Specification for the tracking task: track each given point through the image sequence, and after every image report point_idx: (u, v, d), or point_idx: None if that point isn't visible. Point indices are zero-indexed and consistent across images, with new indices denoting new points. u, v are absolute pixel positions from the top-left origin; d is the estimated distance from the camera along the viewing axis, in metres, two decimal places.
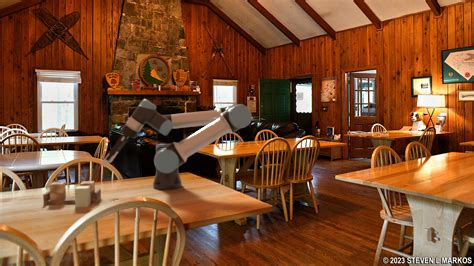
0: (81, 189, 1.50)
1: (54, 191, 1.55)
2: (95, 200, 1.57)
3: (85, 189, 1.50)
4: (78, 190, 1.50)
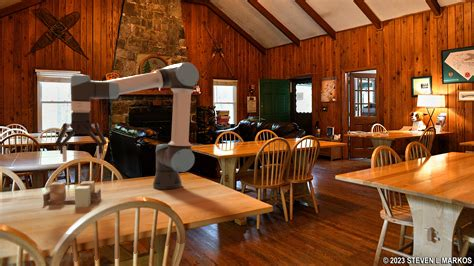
0: (81, 189, 1.50)
1: (54, 191, 1.55)
2: (95, 200, 1.57)
3: (85, 189, 1.50)
4: (78, 190, 1.50)
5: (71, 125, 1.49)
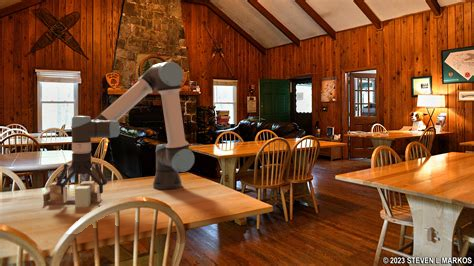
0: (81, 189, 1.50)
1: (54, 191, 1.55)
2: (95, 200, 1.57)
3: (85, 189, 1.50)
4: (78, 190, 1.50)
5: (72, 166, 1.50)
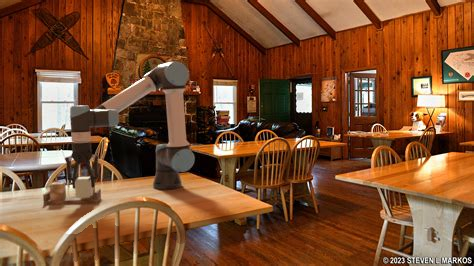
0: (82, 180, 1.50)
1: (54, 191, 1.55)
2: (95, 200, 1.57)
3: (86, 180, 1.50)
4: (79, 181, 1.50)
5: (72, 156, 1.50)
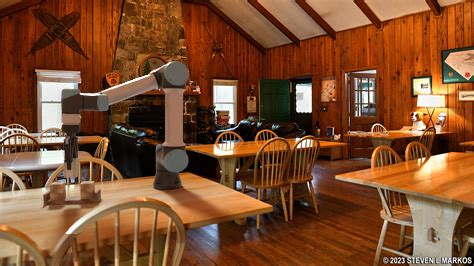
0: (77, 159, 1.58)
1: (54, 191, 1.55)
2: (95, 200, 1.57)
3: (78, 159, 1.60)
4: (76, 160, 1.57)
5: (71, 138, 1.54)
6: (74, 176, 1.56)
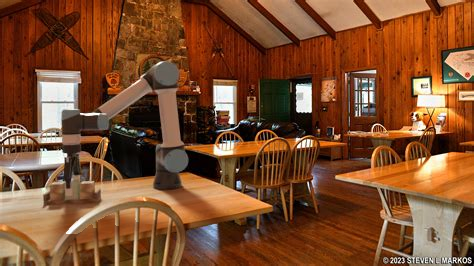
0: (78, 181, 1.59)
1: (54, 191, 1.55)
2: (95, 200, 1.57)
3: (79, 180, 1.61)
4: (78, 182, 1.58)
5: (72, 157, 1.55)
6: (75, 198, 1.57)
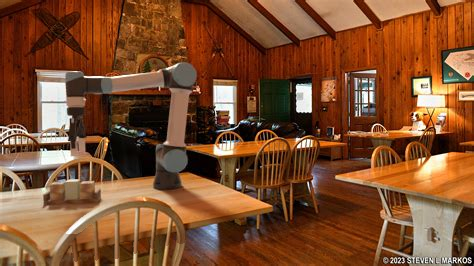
0: (78, 181, 1.59)
1: (54, 191, 1.55)
2: (95, 200, 1.57)
3: (79, 180, 1.61)
4: (78, 182, 1.58)
5: (77, 119, 1.55)
6: (75, 198, 1.57)
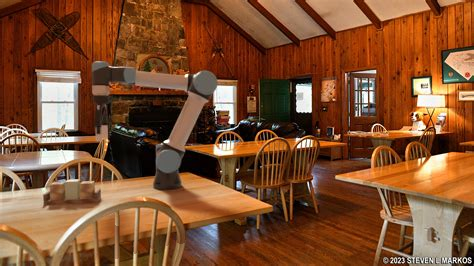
0: (78, 181, 1.59)
1: (54, 191, 1.55)
2: (95, 200, 1.57)
3: (79, 180, 1.61)
4: (78, 182, 1.58)
5: (102, 107, 1.65)
6: (75, 198, 1.57)
